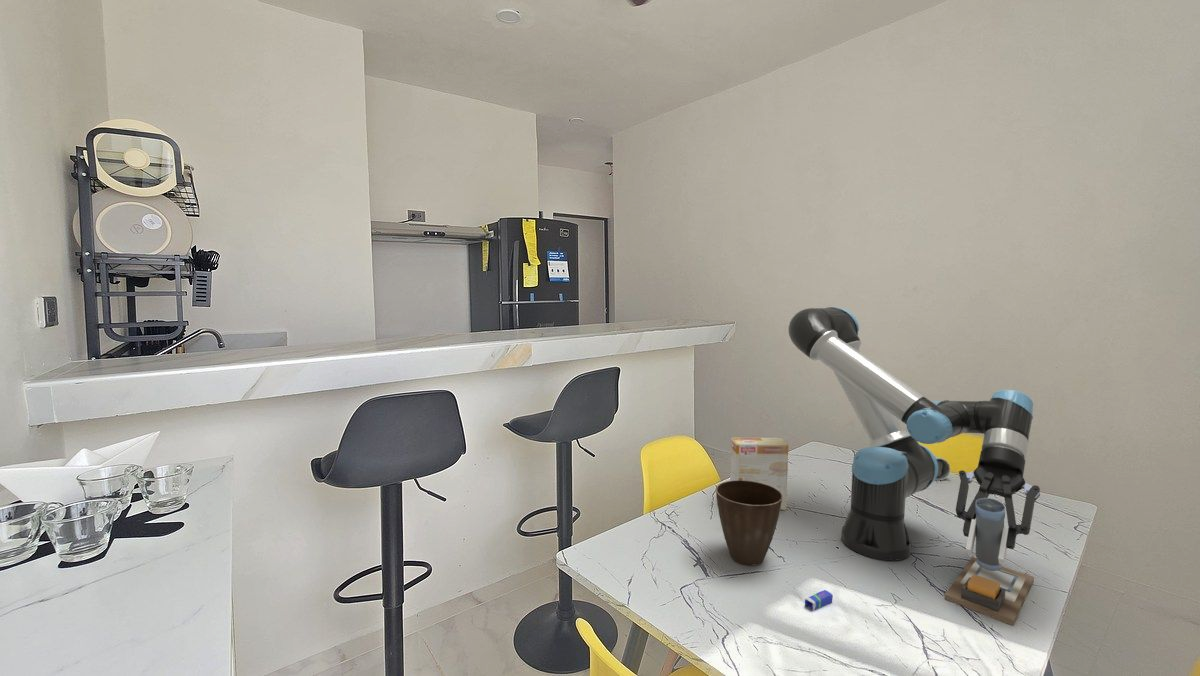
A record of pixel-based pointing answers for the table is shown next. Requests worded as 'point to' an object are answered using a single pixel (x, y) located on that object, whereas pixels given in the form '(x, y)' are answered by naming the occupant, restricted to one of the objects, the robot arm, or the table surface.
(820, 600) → the eraser
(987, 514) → the cup
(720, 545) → the table surface
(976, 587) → the button
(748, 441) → the coffeecake box
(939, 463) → the ceramic mug
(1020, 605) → the wooden board
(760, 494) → the plant pot
